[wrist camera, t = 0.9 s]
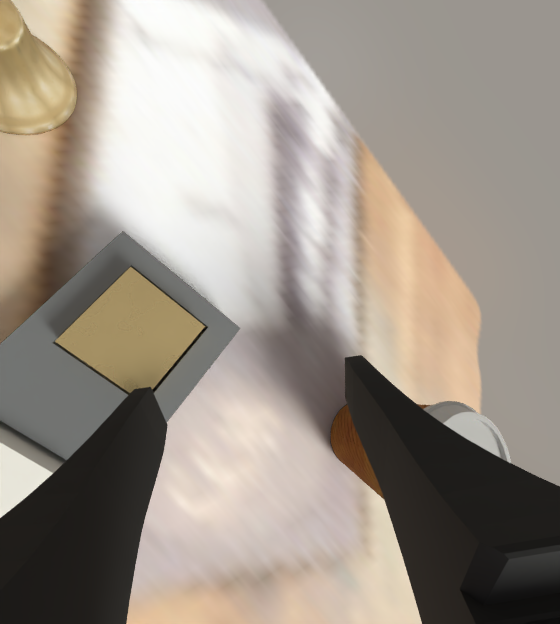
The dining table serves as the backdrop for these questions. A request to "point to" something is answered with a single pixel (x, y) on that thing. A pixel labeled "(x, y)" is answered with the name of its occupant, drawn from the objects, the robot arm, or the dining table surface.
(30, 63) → the hand bell
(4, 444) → the white button
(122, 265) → the panel
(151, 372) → the brass button
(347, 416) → the disposable coffee cup
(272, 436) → the dining table surface
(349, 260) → the dining table surface
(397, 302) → the dining table surface
